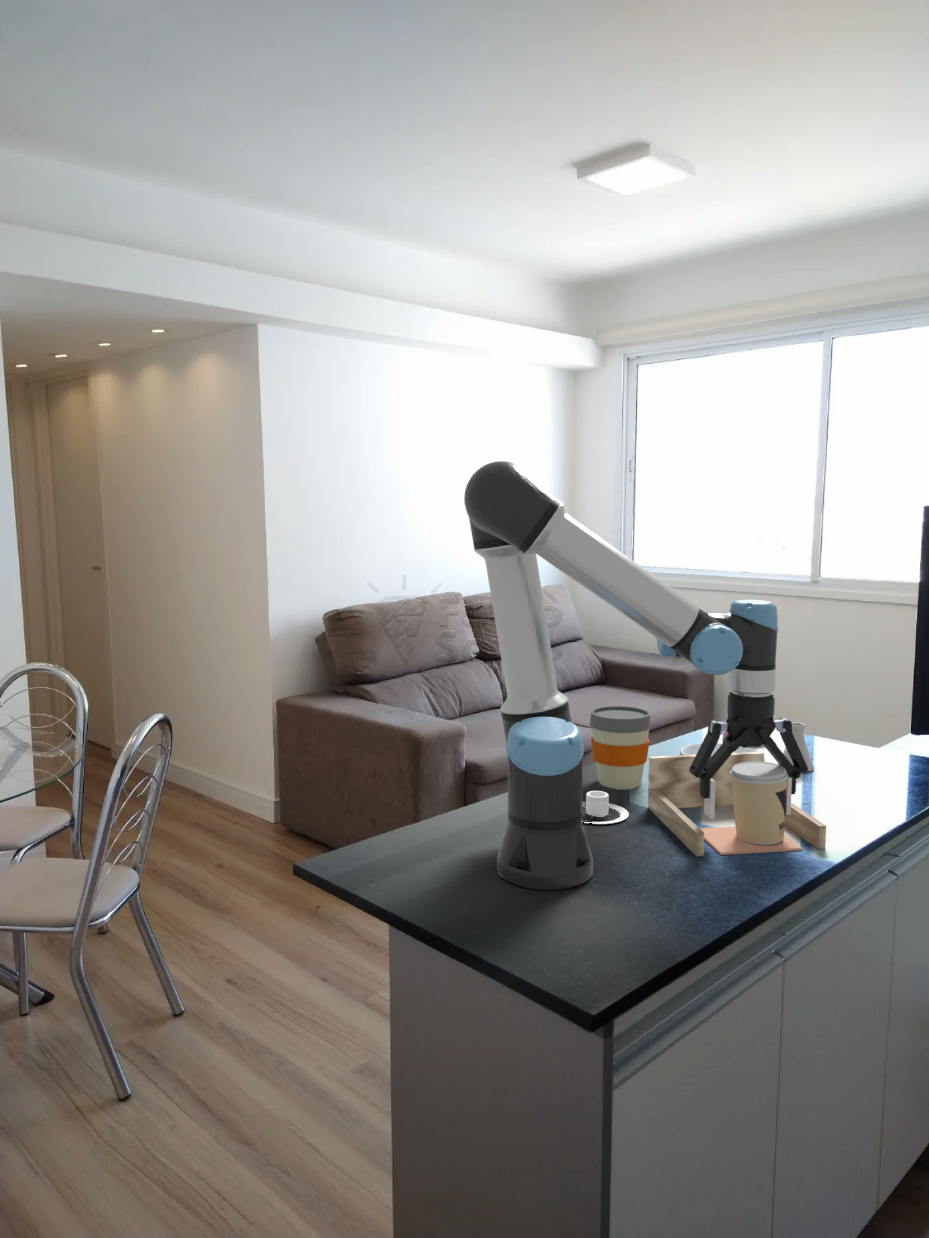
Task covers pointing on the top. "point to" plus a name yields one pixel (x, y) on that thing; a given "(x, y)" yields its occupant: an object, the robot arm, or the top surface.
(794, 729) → the flask
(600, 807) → the candle holder
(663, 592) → the robot arm
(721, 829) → the front mat
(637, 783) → the reusable coffee cup
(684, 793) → the bay
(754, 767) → the coffee cup
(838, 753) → the top surface
